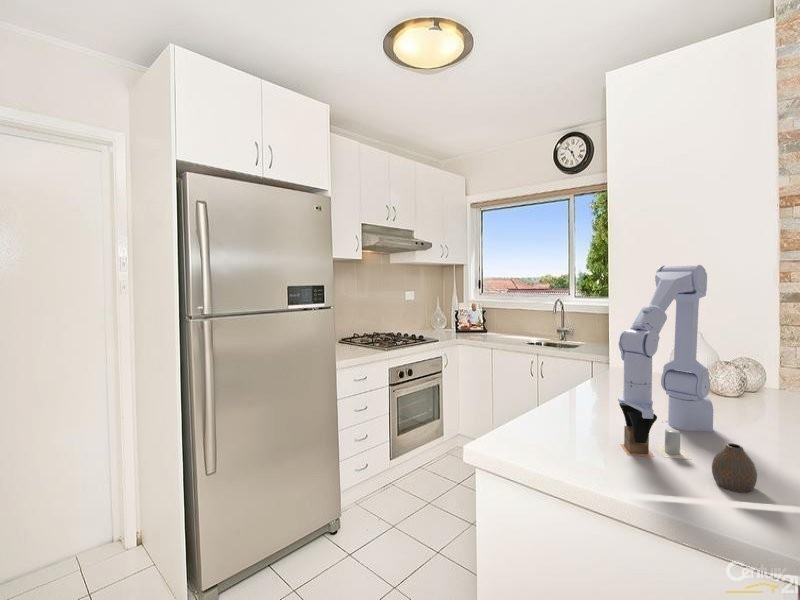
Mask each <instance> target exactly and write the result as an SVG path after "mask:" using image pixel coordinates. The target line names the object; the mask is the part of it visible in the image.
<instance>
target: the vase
mask: <svg viewBox="0 0 800 600" xmlns="http://www.w3.org/2000/svg"><path fill="white" fill-rule="evenodd" d="M757 471H758V470H757V469H756V466H755V463H754V461H752V459H751V458H750V456H749V455H748V454H747V452H745V450H744V448H743V446H741V445H740V444H736V443H727V444H726V445H725V447H724V448H722V449H721V450H720V451H719V452H717V453H716V455H715V456H714V457H713V459H712V463H711V473H712V477H713V479H714V481H715V483H716V484H717V485H718V486H720V487H721V488H723V489H726V490H727V491H732V492H736V493H742V494H743V493H750V492H751V491H753V490H754V488H755V486H756V485H757V481H758V473H757Z"/></svg>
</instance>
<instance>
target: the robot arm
mask: <svg viewBox="0 0 800 600" xmlns="http://www.w3.org/2000/svg"><path fill="white" fill-rule="evenodd" d="M654 281H655V286H656V289H655V291H654V292H653V296H652V298H651V299H650V302H649V305H645V306H643V307H642V308H640V311H639V313H638V314H637V316H636V317H635V319H634V321H633V323H632V325H631V326H630V328H629V329H628V328H627V329H626V330H624V331H623V332H622V333H621V334H620V335H619V336H620V337H619V341H618V348H619V351H620V357H621V360H622V361H623V394H622V395H623V397H618V398H617V401H618V403H619V404H618V405H619V407H620V409H621V411H622V413H623V415H624V416H623V417H624V420H625V424H626V425H625V426H632V427H633V434H634V439H635V442H636V443H646V441H647V438H648V435H649V436H650V432H651V429H652V427H653V425H654V424H655V422H656V421H657V420H658V416H657V415H656V413H654V409H653V403H654V402H653V398H652V397H653V395H652V394H653V392H652V391H653V356H654V355H655V354H656V353H657V352H658V351H657V350H658V347H659V341H660V338H661V337H660V333H661V331H662V329H663V327H664V326H665V323H666V321H667V319H668V315H667V314H666V311H667V310H668V308H669V307H670V306H671V304H672V302H673V301H675V303H676V304H675V322H674V323H675V324H674V325H675V326H674V328H675V329H674V346H673V347H674V349H673V351H674V352H673V359H672V360H670V361H667V363H665V364H664V365H663V366H662V367H663V368H662V369H663V370H662V374H661V378H660V386H661V387H662V390H663V391H665V395H667V396H668V405H667V406H668V413H667V415H668V416H667V419H668V420H661V421H662V422H661V423H665V424H667V425H668V426H670V427H671V428H672V429H675V430H678V431H679V430H680V431H687V432H714V406H713V402H712V400H711V399H710V398H709V397H708V395H709V394H710V390H711V380H710V372H709V369H708V368H707V367H706V366H704V365H703V364H702V363H700V362H699V361H698V360H697V352H698V351H697V350H698V348H697V347H698V325H699V306H700V299H702V298H704V297H706V296H707V289H708V288H707V287H708V273H707V271H706V268H705V267H704V266H703V265H701V264H696V265H660V266H659V267H658V268H657V270H656V271H655V277H654Z"/></svg>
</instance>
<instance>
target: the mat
mask: <svg viewBox="0 0 800 600" xmlns="http://www.w3.org/2000/svg"><path fill="white" fill-rule="evenodd" d="M619 445H620V447H622V449H623V450H624V452H625V453H626V455H627V456H633V457H634V456H636V457H637V456H638V457H639V456H640V457H651V458H652V457H653V458H654V457H655V455H653V453H652V452H651V450H649V454H635V453H629V452H628V450H627V449H626V448H625V446H624V443H620V444H619ZM654 448H655V449H656V450H657V451H658V452H659V454H660V455H661V456H662V458H668V459H684V460H692V457H690V456H689V455H688V454H687V452H685V451H684V450H683V449H682V448H681V447H680V455H671V454H668V453H666V452H665V446H659V445H657V446H656V445H654Z"/></svg>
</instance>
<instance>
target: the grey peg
mask: <svg viewBox="0 0 800 600" xmlns="http://www.w3.org/2000/svg"><path fill="white" fill-rule="evenodd" d="M681 436H682V435H681V430H680V431H679V429H676V428H666V429H664V447H665V452H666V453H668V454H671V455H680V448H681Z"/></svg>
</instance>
